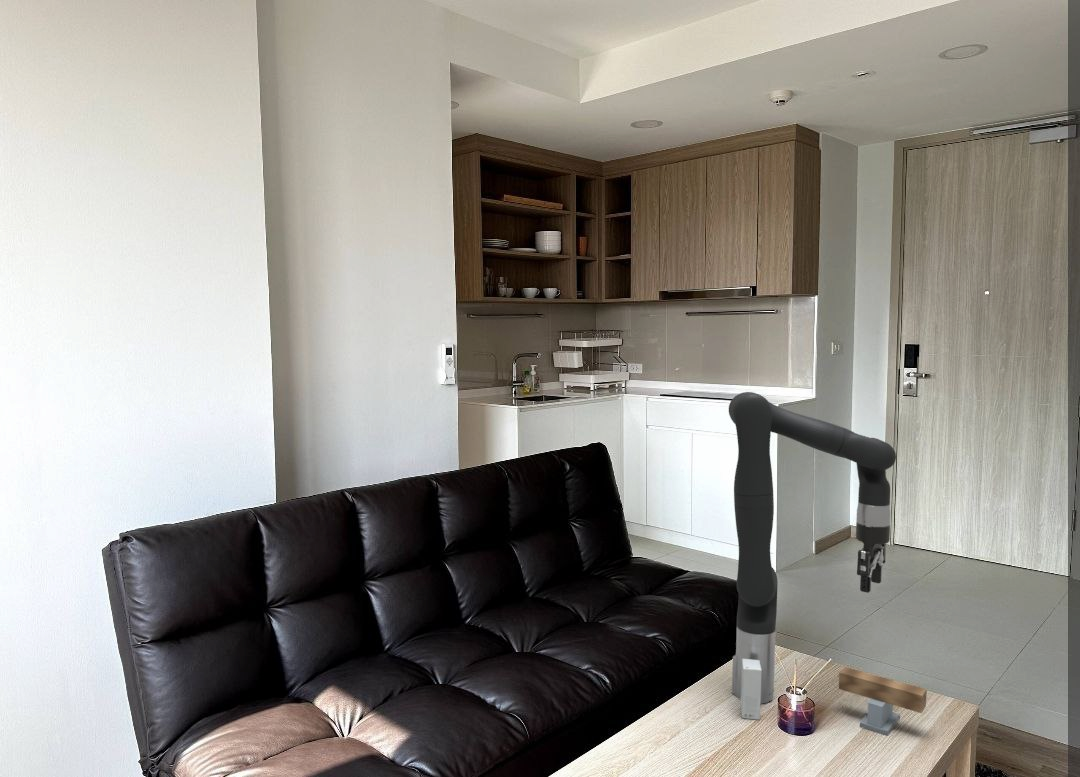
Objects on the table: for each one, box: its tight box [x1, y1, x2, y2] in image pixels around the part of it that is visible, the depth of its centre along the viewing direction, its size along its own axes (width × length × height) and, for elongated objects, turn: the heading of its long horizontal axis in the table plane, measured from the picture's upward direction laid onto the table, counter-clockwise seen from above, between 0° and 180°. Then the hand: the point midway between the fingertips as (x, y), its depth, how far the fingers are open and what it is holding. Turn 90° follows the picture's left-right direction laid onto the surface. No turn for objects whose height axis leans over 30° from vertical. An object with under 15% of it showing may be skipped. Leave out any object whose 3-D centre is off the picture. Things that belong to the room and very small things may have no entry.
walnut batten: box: [838, 666, 928, 714], centre depth 178 cm, size 18×4×4 cm, turn 51°
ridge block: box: [859, 698, 901, 736], centre depth 179 cm, size 6×10×6 cm, turn 141°
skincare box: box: [740, 659, 761, 721], centre depth 183 cm, size 6×4×12 cm
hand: (870, 587), depth 188 cm, fingers open, 8 cm apart
